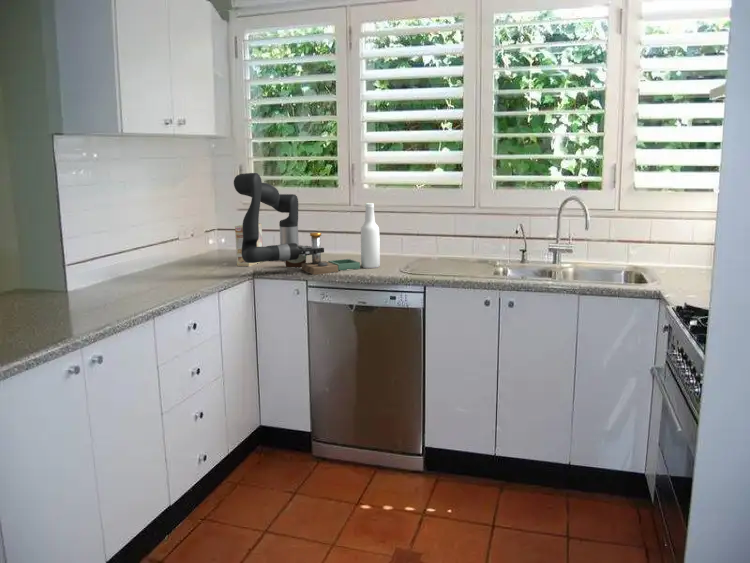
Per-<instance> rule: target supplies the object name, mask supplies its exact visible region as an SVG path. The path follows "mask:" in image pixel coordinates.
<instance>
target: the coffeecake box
mask: <svg viewBox="0 0 750 563" xmlns="http://www.w3.org/2000/svg"><path fill="white" fill-rule="evenodd" d="M262 226H263V225H262V223H259V239H258V241H257V247H264V246H263V229H262V228H263V227H262ZM234 228H235V229H234V231H235V232H234V233H235V251H236V254H235V256H236V266H237V267H246V266H248V267H253V266H254V265H258V264H261V263H260V262H257V263H258V264H257V263H247V262H245V261H244V260H243V258H242V243H243V224H241V225H235V226H234Z"/></svg>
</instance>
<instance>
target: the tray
mask: <svg viewBox="0 0 750 563" xmlns="http://www.w3.org/2000/svg"><path fill="white" fill-rule="evenodd" d="M327 262H329V263H332V264H335V265H337V266H338V270H343V271H348V270H347V269H353V270H360V269H361V261H356V260H354V259H351V258H346V259H336V260H335V259H334V260H328V261H327Z"/></svg>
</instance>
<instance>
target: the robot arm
mask: <svg viewBox="0 0 750 563" xmlns="http://www.w3.org/2000/svg"><path fill="white" fill-rule="evenodd" d="M233 179H234V180H233V187H234V190H235V191H236V192H237V193H238V194H240V195H241V196H246V197H250V198H251V202H250V203H249V207H248V209H247V211H246V213H245V215H244V217H243V221H242V225H243V243H242V258H243V260H244V261H245V262H247V263H257V262H261V263H264V262H277V261H279V262H280V261H281V262H282V261H283V262H285V261H286V260H296V259H298V257H299V254H300V255H302V256H305V255H306V257H307V256H312V255H314V254H315V255H316V254H317V253H321V254H322V253H325V248H324V247H320V248H312V245H311V246H310V245H302V246H298V245H300V244H299V225H298V224H299V197H298V196H297V194H291V193H290V194H289V193H288V194H287V193H284V194H282V193H280V192H279V190H278V189H277V188H276V187H275V186H274V185H272V184H270V183H266V182H263V181H262V177H261V176H260V174H259V173H257V172H249V173H248V172H247V173H245V172H244V173H239V174H237V175H236V176H235V177H234V178H233ZM261 204H264V205H266V206H269V207H272V208H273V209H274V210H276V211H277V212H278V213H282V214H283V213H284V214H285V213H286V214H288V216H287V217H286V218H284V219H281V220H280V221H279V222H278V223H279V242H280V243H279V244H276V245H275V244H274V245H273V244H272V245H267V246H266V245H265V246H263V247H257V241H258V239H259V219H260V218H259V216H260V208H261ZM313 250H314V252H312V251H313Z"/></svg>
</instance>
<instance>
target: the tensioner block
mask: <svg viewBox="0 0 750 563" xmlns="http://www.w3.org/2000/svg"><path fill="white" fill-rule="evenodd" d="M301 266H302V268H301V271H303V272H306V273H308V274H311V275H323V274H332V273H331V272H335V273H339V271H338V266H337V265H335V264H332V263H329V262H328V261H326V260H325V261H324V260H323V261H322V260H321V263H318V264H316V265H313V264H312V261H311V262H306V263H301Z"/></svg>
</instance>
